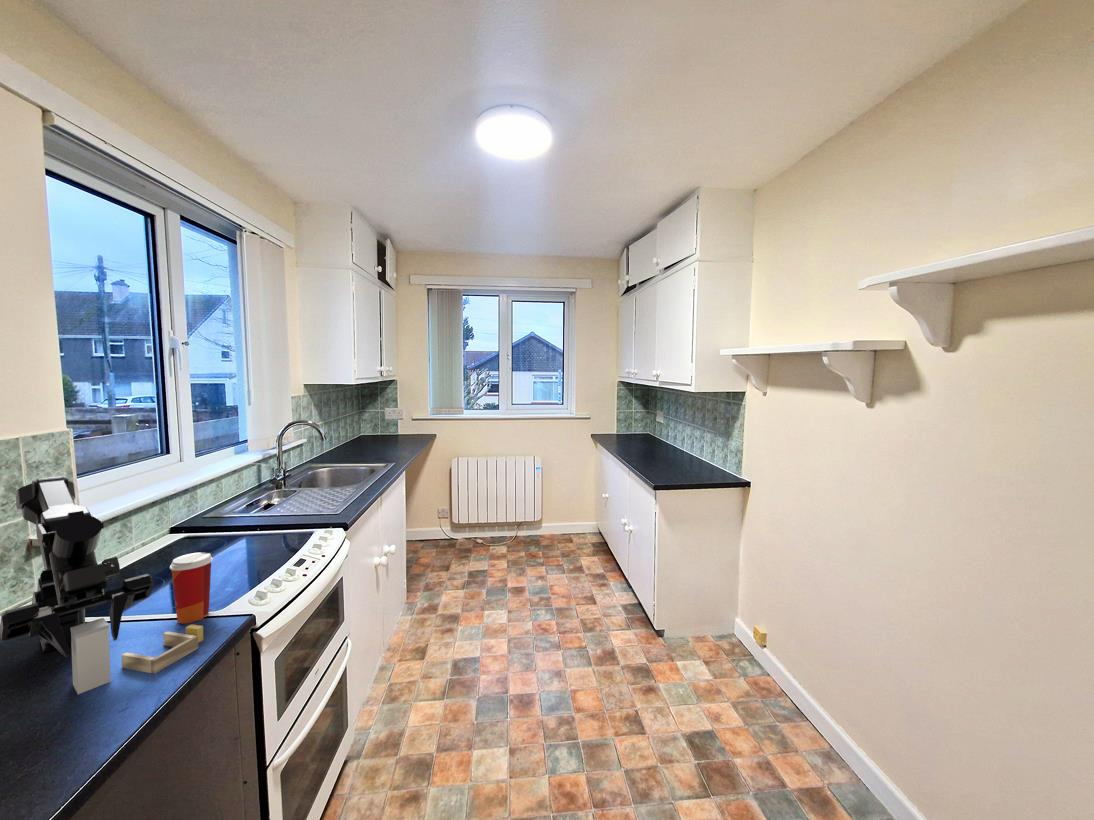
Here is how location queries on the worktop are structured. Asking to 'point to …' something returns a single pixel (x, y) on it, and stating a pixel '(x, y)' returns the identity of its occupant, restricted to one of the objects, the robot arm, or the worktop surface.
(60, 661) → the worktop surface
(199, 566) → the paper cup
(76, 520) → the robot arm
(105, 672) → the white plug
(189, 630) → the mustard block
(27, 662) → the worktop surface
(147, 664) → the bay
